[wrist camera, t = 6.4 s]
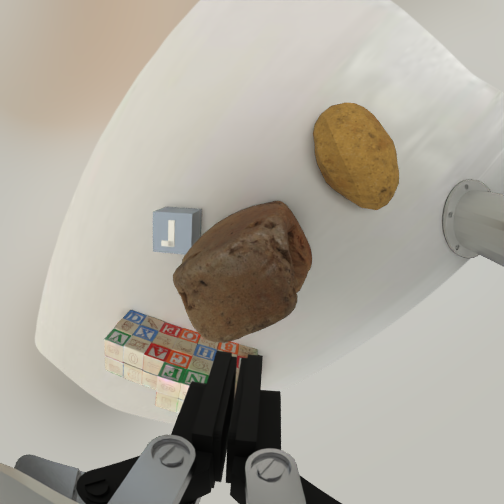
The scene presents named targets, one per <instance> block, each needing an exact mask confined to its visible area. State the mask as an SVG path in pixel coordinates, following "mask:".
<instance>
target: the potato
mask: <svg viewBox="0 0 504 504" xmlns="http://www.w3.org/2000/svg"><path fill="white" fill-rule="evenodd" d="M313 136H314V143H315V156H316V161H317V164H318V166H319V169H320V171H321V173H322V175H323V177H324V179H325V181H326V183H328V184H329V185H330V186H331V187H332V188H333V189H334V190H335V191H336V192H338V193H340V194H341V195H343V196H344V197H346V198H347V199H348V200H350V201H352V202H353V203H355V204H356V205H358V206H360V207H361V208H368V209H374V210H378V209H380V208H382V207H383V206H385V205H387V204H388V203H389V201H390V200H391V199H392V197H393V195H394V193H395V191H396V188H397V186H398V184H399V170H398V164H397V155H396V149H395V146H394V143H393V141H392V139H391V138H390V136H389V135H388V134H387V132H386V131H385V129H384V128H383V127H382V125H381V124H380V122H379V121H378V120H377V119H376V117H375V116H374V115H373V114H372V113H371V112H369V111H368V110H367V109H365V108H364V107H362V106H360V105H358V104H355V103H342V104H338V105H333V106H331V107H329V108H328V109H327V110H325V111H324V112H323V113H322V114H321V115H320V116H319V118H318V120H317V121H316V123H315V126H314V131H313Z"/></svg>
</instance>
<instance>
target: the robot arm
mask: <svg viewBox="0 0 504 504" xmlns="http://www.w3.org/2000/svg"><path fill="white" fill-rule="evenodd" d="M443 229H444V234H445V238H446V241H447V243H448V245H449V247H450V248H451V249H452V250H453V252H454V253H456V254H458V255H459V256H461V257H464V258H474V257H476V256H478V255H482V256H484V257H486V258H488V259H490V260H492V261H494V262H496V263H498V264H500V265H502V266H504V195H502V194H497V193H491V191H490V190H489V188H488V187H487V186H486V185H485V184H484V183H482V182H480V181H477V180H465V181H462V182H461V183H459V184H458V185H457V186H455V187H454V189H453V190H452V191H451V193H450V195H449V197H448V199H447V201H446V205H445V208H444V214H443ZM262 357H263V356H260V355H250V354H248V357H247V358H241V364H240V369H239V375H238V381H237V387H236V393H235V383H236V367H237V357H233V356H232V352H224V351H217V352H216V355H215V358H214V361H213V364H212V367H211V371H210V374H209V377H208V380H207V384H206V383H200V382H194V381H192V382H191V384H190V386H189V388H188V391H187V394H186V396H185V399H184V402H183V404H182V407H181V410H180V412H179V415H178V418H177V420H176V423H175V426H174V428H173V431H172V434H171V435H163V436H159V437H156V438H155V439H153V440H152V441H151V442H150V443H149V444H148V445H147V447H146V448H145V450H144V451H143V452H142V454H141V455H140V456H138V457H135V458H131V459H128V460H125V461H122V462H119V463H116V464H112V465H109V466H105V467H102V468H98V469H94V470H91V471H88V472H82V471H80V470H79V469H78V468H74V467H70V466H67V465H63V464H59V463H56V462H53V461H50V460H46V459H43V458H40V457H37V456H34V455H24V456H22V457H20V458H19V459H18V461H17V462H16V465H15V467H14V468H12V467H10V466H7V465H4V464H2V463H0V504H199V502H200V499H201V497H202V496H204V495H206V494H208V493H210V492H211V488H214V485H215V481H219V482H221V480H222V473H223V468H224V463H225V457H226V452H227V465H226V483H231V490H230V491H231V492H230V495H231V496H232V497H233V498H234V499H235V500H236V501H237V502H238V503H239V504H342V503H340V502H338V501H337V500H335V499H334V498H332V497H330V496H329V495H327V494H326V493H324V492H323V491H321V490H320V489H318V488H317V487H315V486H314V485H313V484H311V483H310V482H308V481H307V480H305V479H304V478H303V477H301V476H300V475H299V472H298V468H297V464H296V462H295V460H294V459H293V458H292V457H291V456H290V455H289V454H288V453H286V452H284V451H282V450H281V397H280V391H266V390H260V387H261V373H262Z"/></svg>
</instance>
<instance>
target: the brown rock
mask: <svg viewBox="0 0 504 504" xmlns="http://www.w3.org/2000/svg"><path fill="white" fill-rule="evenodd" d="M311 264H312V254H311V249H310V245H309V243H308V241H307V239H306V237H305V234H304V232H303V230H302V228H301V226H300V225H299V223H298V221H297V219H296V218H295V216H294V215H293V213H292V211H291V210H290V209H289V208H288V206H287V205H286V204H284V203H283V202H281V201H273V202H269V203H264V204H260V205H256V206H252V207H249V208H246V209H244V210H241V211H239V212H237V213H235V214H232V215H230V216H228V217H227V218H225V219H223V220H221V221H220V222H218V223H217V224H215V225H214V226H213V227H212V228H210V229H209V230H208V231H207V232H206V233H204V234H203V235H202V236H201V237H200V238H199V239H198V240H197V241H196V242H195V243H194V244H193V246H192V247H191V248H190V249H189V250H188V252H187V253H186V255H185V256H184V258H183V260H182V264H181V265H180V266H179V267H178V268H177V269H176V271H175V273H174V274H173V282H174V285H175V287H176V289H177V290H178V293H179V294H180V296H181V298H182V301H183V303H184V306H185V309H186V312H187V314H188V317H189V319H190V321H191V323H192V325H193V327H194V328H195V329H196V330H197V332H198V333H199V334H200V335H201V336H202V337H203V338H204V339H206V340H209V341H212V342H220V343H226V342H229V341H233V340H236V339H239V338H241V337H243V336H245V335H248V334H251V333H253V332H256V331H259V330H261V329H264V328H266V327H268V326H270V325H272V324H275V323H276V322H278V321H280V320H282V319H284V318H285V317H287V316H288V315H289V314H290V313H291V312H292V311H293V310H294V309H295V306H296V303H297V294H296V293H297V292H298V291H300V289H301V287H302V285H303V283H304V281H305V278H306V277H307V273H308V271H309V270H310V268H311Z"/></svg>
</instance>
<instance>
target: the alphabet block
mask: <svg viewBox="0 0 504 504" xmlns="http://www.w3.org/2000/svg"><path fill="white" fill-rule="evenodd" d="M201 214H202V209H195V208H178V207H165V208H162V209H159V210H156V211H153V251H154V252H164V253H174V254H185V255H186V253H187V252H188V250H189V249H190V248H191V247H192V246H193V244H194V243H195V242H196V241H197V240H198V239H199V238H200V237H201Z"/></svg>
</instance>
